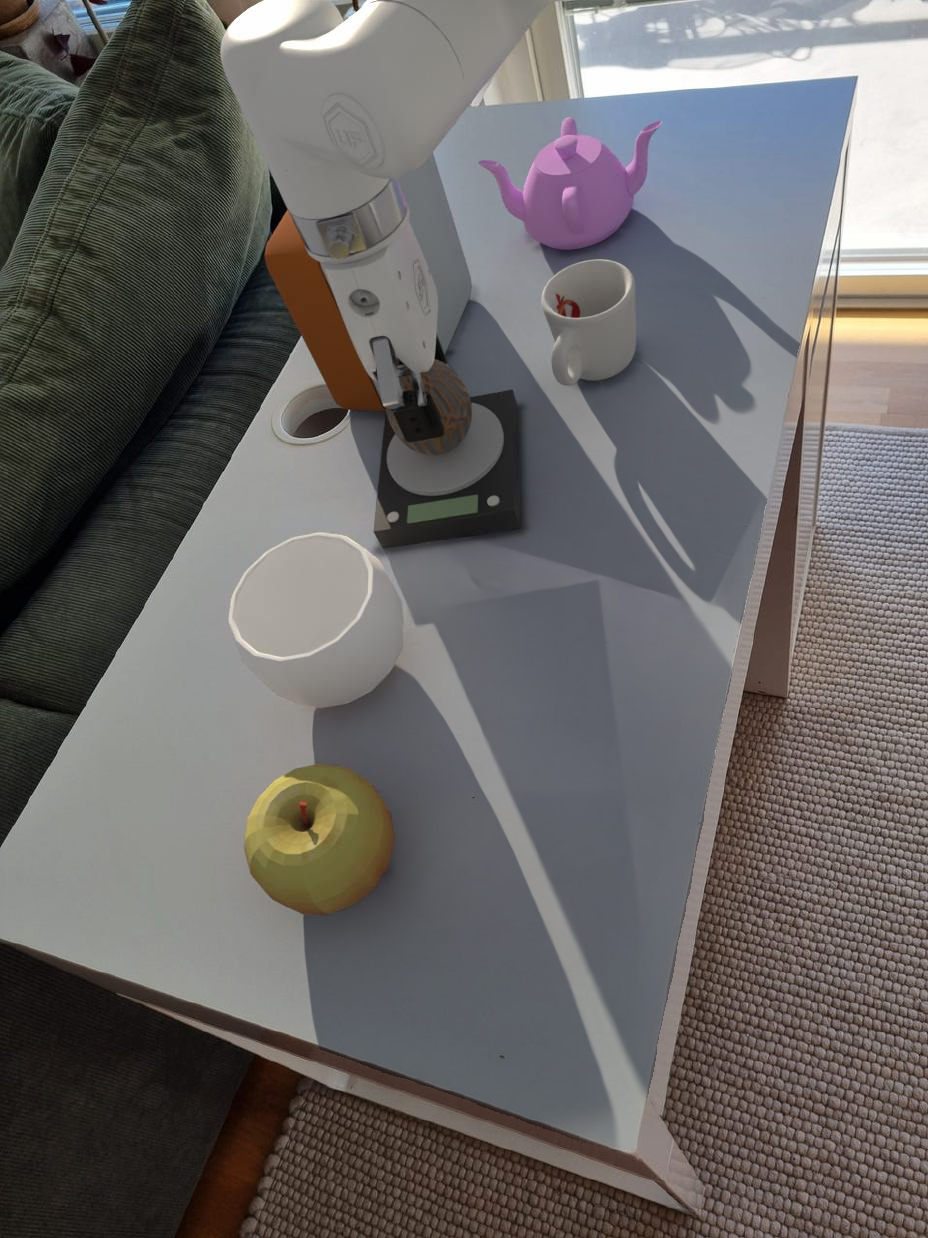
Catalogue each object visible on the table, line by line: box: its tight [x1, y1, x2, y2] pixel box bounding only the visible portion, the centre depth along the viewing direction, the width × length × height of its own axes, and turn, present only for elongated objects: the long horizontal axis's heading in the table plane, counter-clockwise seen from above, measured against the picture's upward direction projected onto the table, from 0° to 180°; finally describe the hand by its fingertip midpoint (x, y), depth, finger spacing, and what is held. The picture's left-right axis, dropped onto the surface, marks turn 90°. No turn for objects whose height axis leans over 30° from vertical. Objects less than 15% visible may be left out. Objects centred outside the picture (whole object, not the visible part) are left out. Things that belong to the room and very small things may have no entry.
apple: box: [243, 763, 396, 915], centre depth 62 cm, size 10×10×8 cm
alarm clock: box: [263, 151, 473, 412], centre depth 86 cm, size 18×9×21 cm, turn 162°
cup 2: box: [540, 258, 637, 387], centre depth 82 cm, size 11×8×8 cm
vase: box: [385, 358, 472, 455], centre depth 76 cm, size 7×7×9 cm
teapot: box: [478, 117, 663, 251], centre depth 95 cm, size 12×14×9 cm
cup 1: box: [227, 531, 404, 709], centre depth 71 cm, size 12×12×10 cm
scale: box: [373, 389, 521, 550], centre depth 81 cm, size 12×14×3 cm
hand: (427, 401), depth 77 cm, fingers closed on vase, 6 cm apart
